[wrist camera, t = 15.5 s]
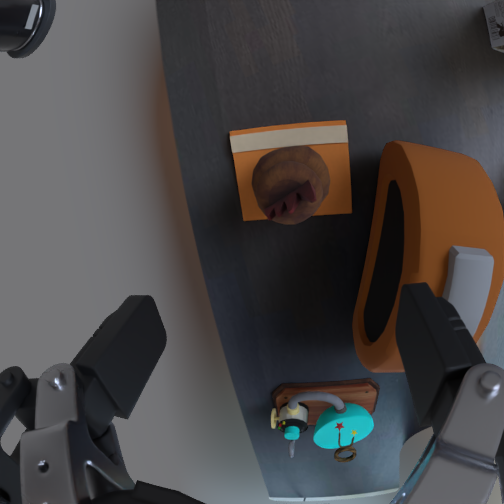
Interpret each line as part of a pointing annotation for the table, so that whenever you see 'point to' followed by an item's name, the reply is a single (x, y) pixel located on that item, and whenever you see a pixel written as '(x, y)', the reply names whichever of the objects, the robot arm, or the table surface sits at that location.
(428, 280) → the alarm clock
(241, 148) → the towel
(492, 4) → the coffee box
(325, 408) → the contraption on wooden base
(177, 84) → the table surface
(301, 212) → the wooden figurine
